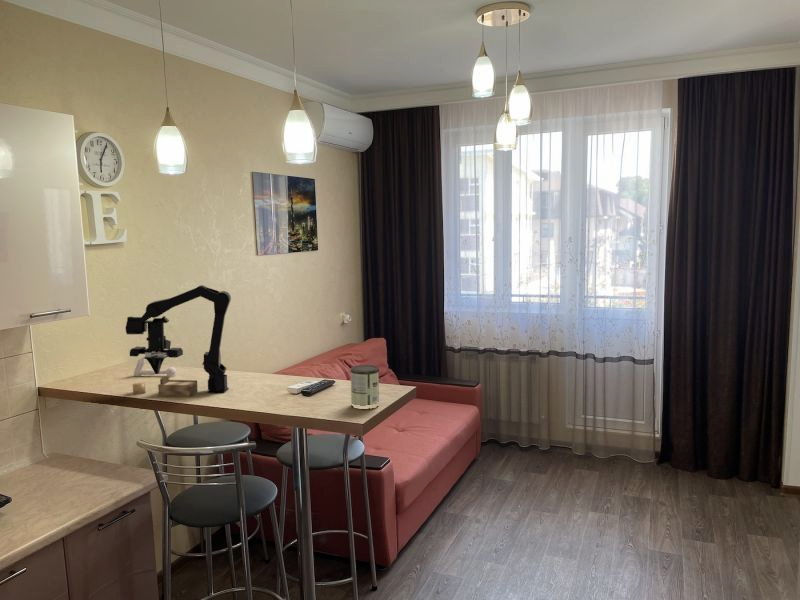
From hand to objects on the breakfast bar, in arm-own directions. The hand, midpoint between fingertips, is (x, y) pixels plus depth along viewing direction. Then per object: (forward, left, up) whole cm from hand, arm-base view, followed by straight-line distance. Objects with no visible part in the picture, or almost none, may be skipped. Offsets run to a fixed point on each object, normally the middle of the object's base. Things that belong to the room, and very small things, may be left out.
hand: (157, 373), depth 234 cm
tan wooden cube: (+7, 0, -8) cm, 11 cm away
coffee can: (-82, +11, -8) cm, 83 cm away
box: (-8, 0, -8) cm, 11 cm away
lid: (-8, 0, -4) cm, 9 cm away
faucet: (+14, -27, -8) cm, 31 cm away
